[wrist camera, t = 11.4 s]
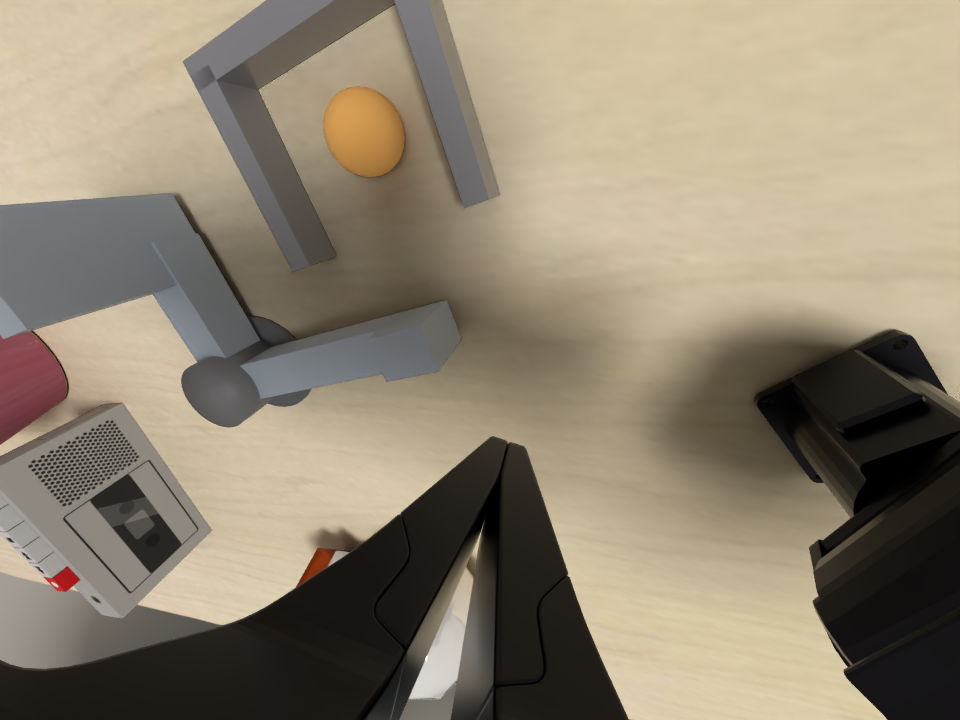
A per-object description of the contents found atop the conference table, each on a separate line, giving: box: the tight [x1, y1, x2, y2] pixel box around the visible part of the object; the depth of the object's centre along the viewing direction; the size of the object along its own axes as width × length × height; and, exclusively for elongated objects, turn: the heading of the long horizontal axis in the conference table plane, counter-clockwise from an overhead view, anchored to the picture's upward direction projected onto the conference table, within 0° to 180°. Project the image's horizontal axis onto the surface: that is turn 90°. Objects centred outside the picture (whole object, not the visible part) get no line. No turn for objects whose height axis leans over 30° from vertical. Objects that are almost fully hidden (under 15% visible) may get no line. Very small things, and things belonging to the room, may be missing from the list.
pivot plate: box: [247, 316, 311, 407], centre depth 27 cm, size 7×7×1 cm
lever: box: [0, 193, 461, 427], centre depth 19 cm, size 17×14×10 cm
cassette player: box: [0, 403, 212, 618], centre depth 33 cm, size 16×3×10 cm, turn 14°
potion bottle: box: [296, 548, 474, 700], centre depth 30 cm, size 9×10×15 cm
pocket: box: [183, 0, 500, 272], centre depth 18 cm, size 10×11×2 cm
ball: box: [324, 87, 405, 177], centre depth 17 cm, size 4×4×4 cm
